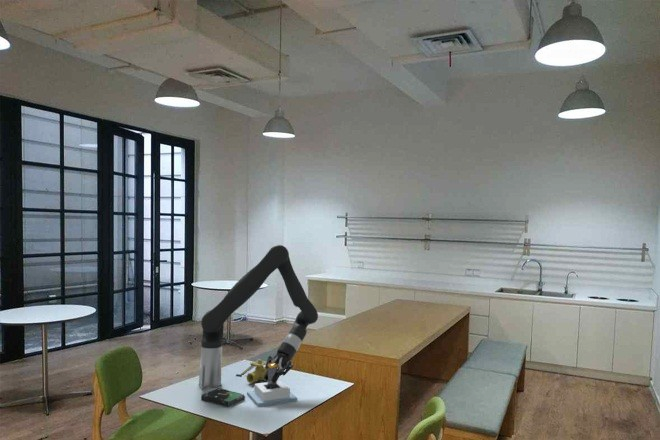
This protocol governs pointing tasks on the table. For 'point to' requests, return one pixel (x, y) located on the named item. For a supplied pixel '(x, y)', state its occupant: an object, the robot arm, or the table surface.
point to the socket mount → (271, 394)
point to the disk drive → (223, 397)
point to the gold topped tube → (271, 375)
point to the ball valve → (257, 371)
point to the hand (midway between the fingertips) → (269, 380)
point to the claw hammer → (245, 371)
